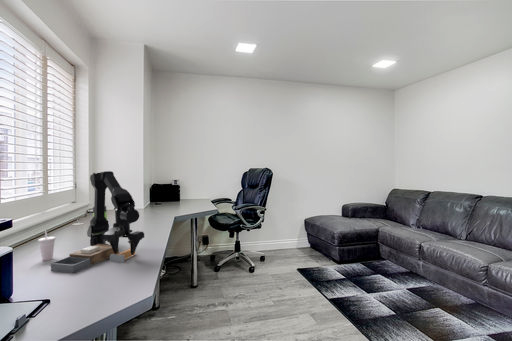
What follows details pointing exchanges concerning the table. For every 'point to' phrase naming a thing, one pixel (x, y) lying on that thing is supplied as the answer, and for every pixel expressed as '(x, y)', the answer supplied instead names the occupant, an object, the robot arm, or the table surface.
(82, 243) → the table surface
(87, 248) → the tile
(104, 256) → the tan block
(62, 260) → the box
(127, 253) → the scraper
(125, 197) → the robot arm
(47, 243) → the smoothie
